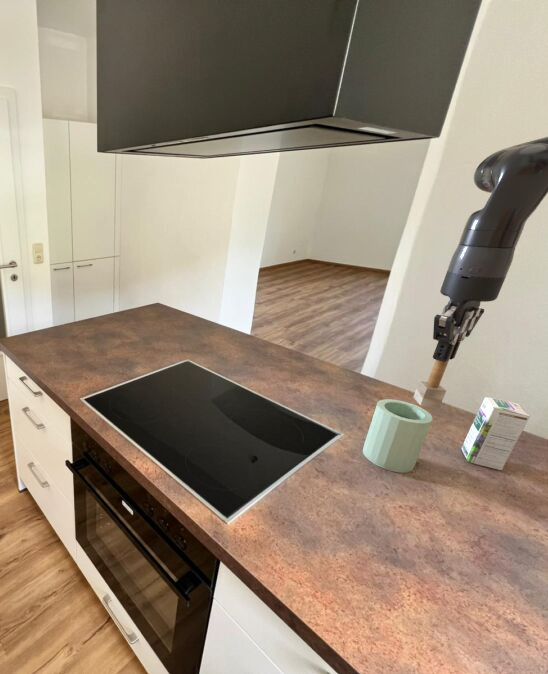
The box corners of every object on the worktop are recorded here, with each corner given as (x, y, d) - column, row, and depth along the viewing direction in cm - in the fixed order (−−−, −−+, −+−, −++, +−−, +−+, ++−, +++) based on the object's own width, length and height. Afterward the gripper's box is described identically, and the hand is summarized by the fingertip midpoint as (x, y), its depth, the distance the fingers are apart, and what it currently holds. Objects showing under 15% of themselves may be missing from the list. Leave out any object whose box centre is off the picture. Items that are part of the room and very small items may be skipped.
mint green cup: (403, 449, 86) (420, 403, 81) (421, 477, 78) (441, 426, 73) (357, 442, 89) (371, 396, 84) (370, 467, 80) (386, 418, 76)
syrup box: (459, 448, 86) (482, 395, 81) (494, 456, 83) (520, 402, 78) (467, 462, 82) (492, 407, 76) (503, 471, 79) (532, 415, 73)
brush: (431, 400, 75) (457, 333, 70) (439, 408, 72) (467, 339, 67) (413, 397, 76) (437, 331, 71) (420, 405, 73) (446, 337, 68)
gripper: (467, 264, 70) (437, 346, 76) (431, 271, 64) (401, 358, 71) (522, 271, 64) (484, 359, 70) (487, 279, 58) (449, 374, 65)
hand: (442, 358), depth 70 cm, fingers closed on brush, 2 cm apart
